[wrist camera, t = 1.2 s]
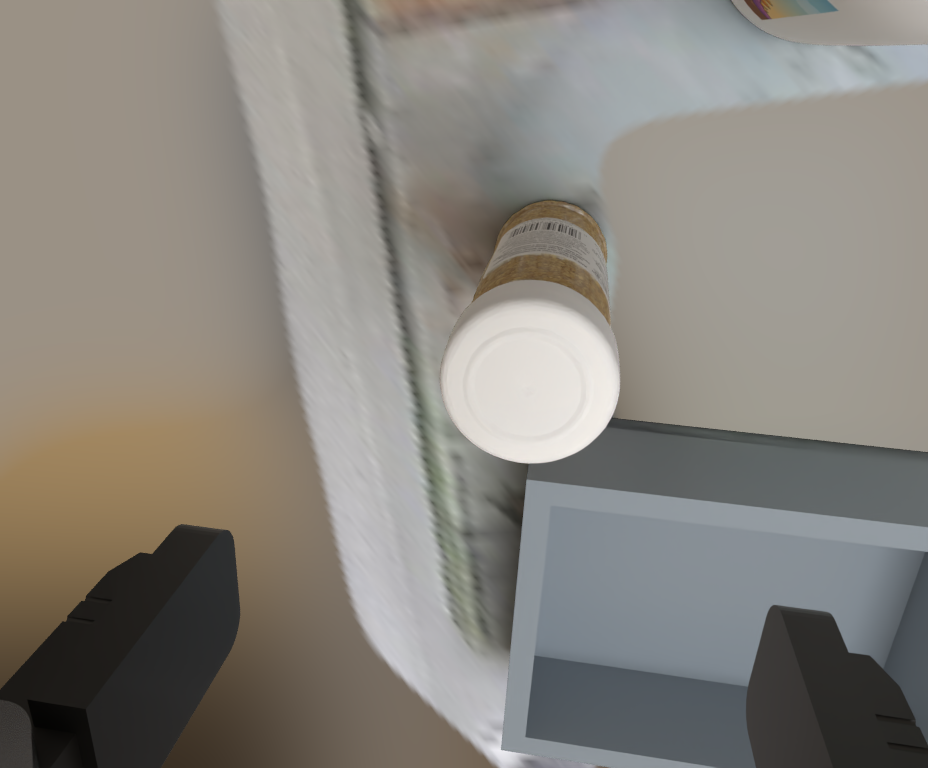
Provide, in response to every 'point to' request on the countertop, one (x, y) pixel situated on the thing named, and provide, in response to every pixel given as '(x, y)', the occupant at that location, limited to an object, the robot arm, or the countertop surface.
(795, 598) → the tote
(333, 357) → the countertop surface
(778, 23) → the milk bottle
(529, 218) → the spice jar
